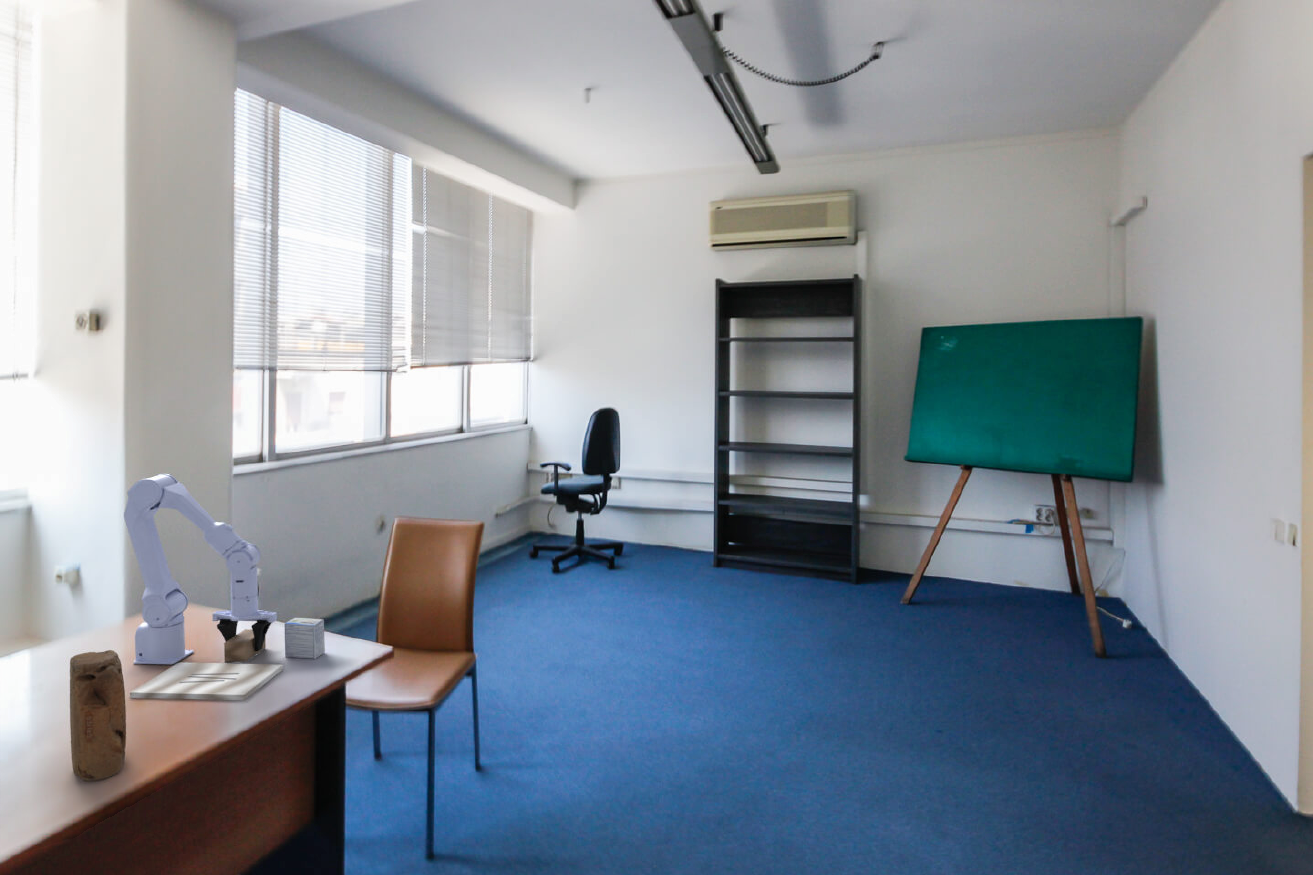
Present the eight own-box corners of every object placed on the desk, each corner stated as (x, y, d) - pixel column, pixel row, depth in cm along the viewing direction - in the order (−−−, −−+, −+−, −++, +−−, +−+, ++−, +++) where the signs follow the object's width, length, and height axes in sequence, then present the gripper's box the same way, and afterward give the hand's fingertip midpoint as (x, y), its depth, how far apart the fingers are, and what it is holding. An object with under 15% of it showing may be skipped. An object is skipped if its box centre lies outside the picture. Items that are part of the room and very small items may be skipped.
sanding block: (224, 662, 172) (224, 642, 171) (245, 648, 181) (245, 629, 180) (245, 663, 172) (245, 643, 172) (265, 649, 181) (265, 629, 180)
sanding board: (129, 697, 152) (129, 691, 152) (179, 667, 168) (178, 662, 168) (244, 700, 153) (244, 694, 152) (282, 669, 169) (282, 664, 168)
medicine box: (325, 652, 179) (325, 618, 179) (315, 659, 175) (314, 624, 174) (295, 650, 180) (294, 616, 179) (284, 657, 176) (283, 622, 175)
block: (71, 762, 127) (66, 652, 125) (123, 749, 132) (119, 643, 130) (74, 790, 119) (69, 672, 117) (130, 774, 124) (126, 661, 122)
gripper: (204, 599, 171) (205, 655, 172) (265, 601, 171) (266, 656, 172) (221, 590, 178) (222, 644, 179) (280, 592, 178) (281, 645, 179)
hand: (245, 649), depth 176 cm, fingers open, 6 cm apart
